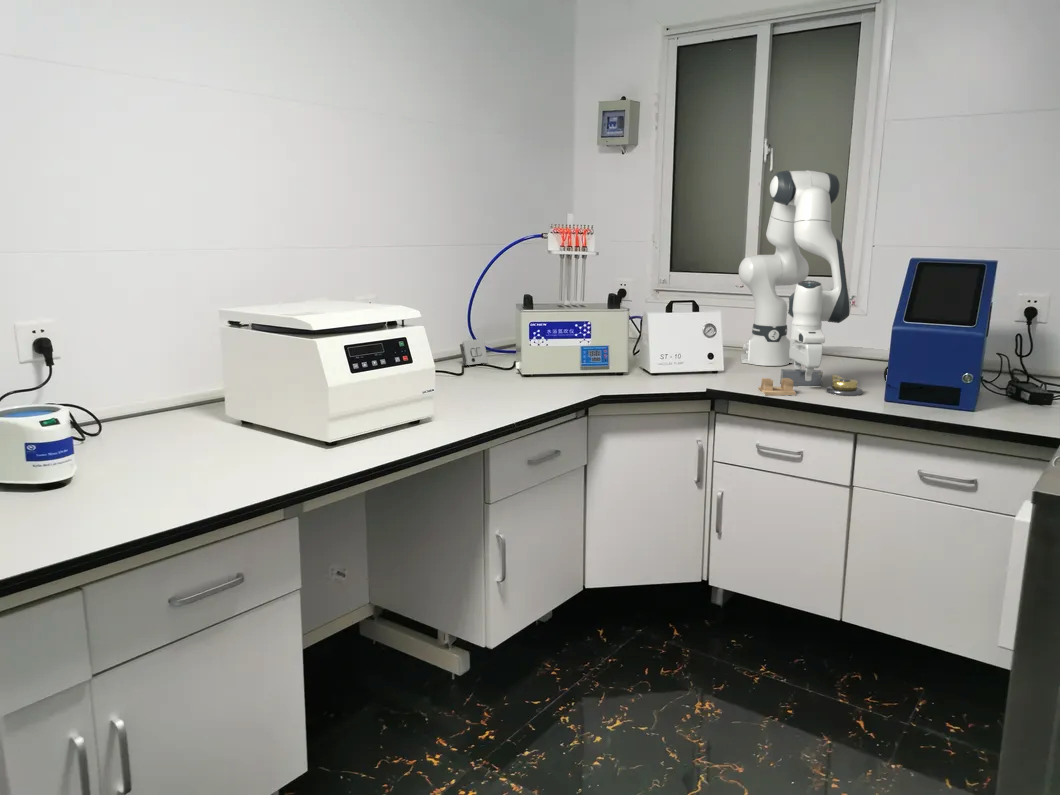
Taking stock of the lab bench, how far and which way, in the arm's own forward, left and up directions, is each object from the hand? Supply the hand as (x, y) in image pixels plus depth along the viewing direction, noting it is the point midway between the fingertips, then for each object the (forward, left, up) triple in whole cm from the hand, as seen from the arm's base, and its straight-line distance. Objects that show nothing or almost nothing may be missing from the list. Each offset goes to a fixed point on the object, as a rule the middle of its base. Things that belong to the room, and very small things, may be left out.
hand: (802, 377), depth 248 cm
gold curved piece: (+7, +10, -1) cm, 12 cm away
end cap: (0, +32, -3) cm, 32 cm away
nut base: (+10, +10, -3) cm, 14 cm away
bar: (0, 0, -3) cm, 3 cm away
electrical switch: (-34, -107, -3) cm, 113 cm away
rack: (+11, -11, -3) cm, 15 cm away
